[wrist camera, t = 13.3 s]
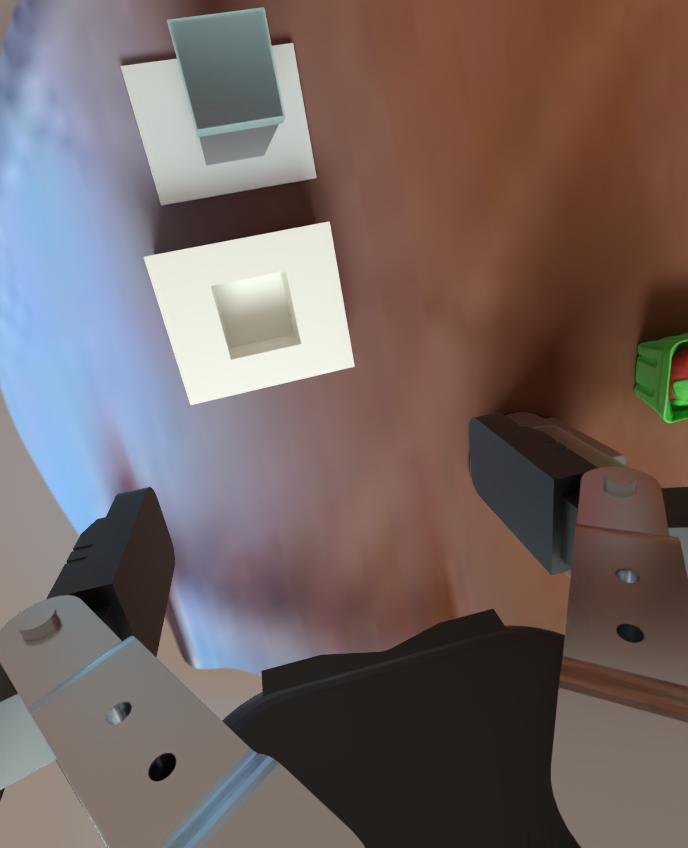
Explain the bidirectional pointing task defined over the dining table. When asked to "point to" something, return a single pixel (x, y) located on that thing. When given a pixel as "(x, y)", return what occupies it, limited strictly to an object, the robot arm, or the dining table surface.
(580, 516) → the robot arm
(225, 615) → the dining table surface
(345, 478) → the dining table surface
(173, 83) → the mat
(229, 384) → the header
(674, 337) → the fruit basket
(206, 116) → the plug
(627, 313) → the dining table surface
